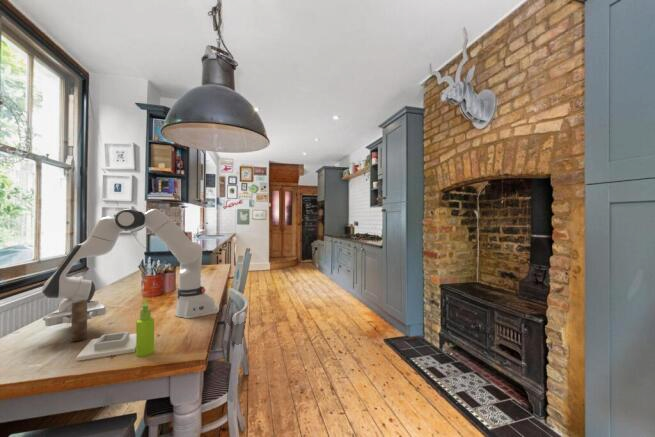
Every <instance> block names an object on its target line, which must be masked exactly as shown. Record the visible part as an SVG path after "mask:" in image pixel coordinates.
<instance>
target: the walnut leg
mask: <svg viewBox="0 0 655 437" xmlns="http://www.w3.org/2000/svg"><path fill="white" fill-rule="evenodd" d="M87 338H88V319H87V300H76V301H73V302H72V323H71V341H72V342H78V341H82V340H85V339H87Z"/></svg>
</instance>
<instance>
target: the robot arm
mask: <svg viewBox="0 0 655 437" xmlns="http://www.w3.org/2000/svg"><path fill="white" fill-rule="evenodd" d="M144 228H147V229H148V230H149V231H150V232H152V233H153V234H154V235H155V236H156V237H157V238H158V239H159V240H160V241H161V242H162V243H163V244H164V245H165V246H166V247H167V249H168V250H169V251H170V252H171V254H172V255H173V256H174V258H176V260H177V262H178V263H179V270H178V287H177V290H176V291H177V292H176V294H177V296H176V297H177V305H176V308H175V312H174V316H175V317H178V318H184V319H193V318H200V317H204V316H211V315H216V314H218V313H219V312H220V307H219V306H218V305H217V304H216V302H215V300H214V298H213V297H212V296H211V295H209V294H208V293H206V288H205V287H204V286H202V284H201V280H202V279H201V277H202V275H201V273H202V262H203V247H202V245H201V244H200V243H198V242H197V241H191V239H190V238H189V237H188V236H187V235H186V234H185V232H184V231H183V229H182V228H181V227H180V226H178V224H176V222H175V221H173V220H172V218H170V217H169V216H168V215H167V214H165V213H164V212H162V211H161V210H159V209H158V208H152V209H149V210H147V211H145V212H143V211H139V210H135V209H132V208H125V209H121V210H120V211H118V212H117V213H116V215H115V216H114V217H113V216H103V217H101V218H100V219H98V221H97V222H96V224H95V226H94V227H93V228H92V230H91V232H90V234H89V236H88V238H87V239H86V240H85V241H84V242H82V243H77V244H76V245H75V246H73V248H71V250H70V251H69V252H68V254H67V255H66V256H65V258H63V260H62V261H61V262H60V265H59V266H58V267H57V268H56V270H55V271H54V272H53V273H52V274H51V276H50V277H49V278H48V279H47V280H46V281H45V282H44V284H43V285H42V289H41V292H42V293H43V295H44V296H45V297H46V298H48V299H58V298H59V299H62V300H61V301H60V302H59V305H58V312H57V311H56V312H52V313H48V314H46V316H44V317H43V318H42V320H43V321H44V324H45V327H52V326H57V325H62V324H72V302H73V301H76V300H87V320H90V319H92V318H95V317H101V316H104V315H106V314H107V306H106V305H105V304H103V303H101V302H99V301H98V300H92V299H93V297H94V295H95V292H96V285H95V283H94V282H93V281H92V280H91V279H90V280H89V279H85V278H84V279H83V278H75V277H69V276H67V274H68V273H69V272H70V270H71V269H72V267H73V266H74V265H75V263H76V262H77V261H78V260H80V259H84V258H91V257H99V256H104V255H108V253H110V252H111V251H112V250H113V248H114V247H115V245H116V242H117V240H118V239H119V236H120V235H121V233H123V232H139V231H141V230H143V229H144Z"/></svg>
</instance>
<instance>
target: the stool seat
mask: <svg viewBox="0 0 655 437" xmlns="http://www.w3.org/2000/svg"><path fill="white" fill-rule="evenodd" d="M129 353H136V333H131V334H130V331H121V332H115V333H106V334H101V335H100V337H99V338H93V339H91V340H90V341H89V342H88V343H87V345H86V346H85V347H84V348H83V349H82V350H81V351H80V352H79V354H78V355H76V362H78V361H84V360H86V361H87V360H90V359H91V360H92V359H97V358H105V357H110V356H111V355H112V356H116V355H117V356H118V355H123V354H129Z"/></svg>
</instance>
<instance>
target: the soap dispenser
mask: <svg viewBox="0 0 655 437" xmlns="http://www.w3.org/2000/svg"><path fill="white" fill-rule="evenodd" d="M141 308H142V310H140V312H139V314H140V315H139V316H140V318H138V319H137V320H136V322H135V323H136V325H135V326H136V328H135V329H136V333H135V334H136V350H135V353H136V354H135V355H136V356H137V357H147V356H150V355H152V354H153V353H154V352H155V317H152V316H151V309H149V301H143V302H142V304H141Z"/></svg>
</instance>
